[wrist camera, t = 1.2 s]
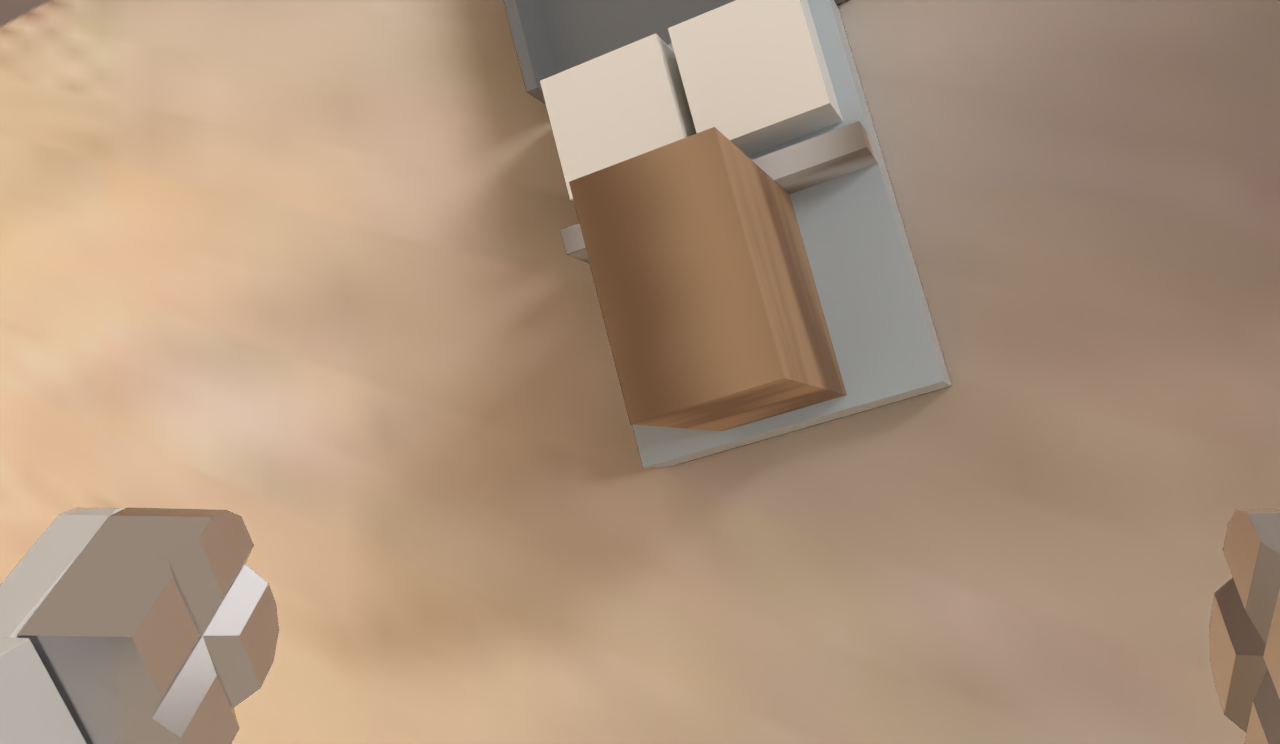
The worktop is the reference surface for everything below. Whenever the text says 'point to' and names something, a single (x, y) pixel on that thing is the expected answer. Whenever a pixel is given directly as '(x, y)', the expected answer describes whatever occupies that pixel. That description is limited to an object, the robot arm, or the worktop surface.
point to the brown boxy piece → (712, 277)
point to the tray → (589, 30)
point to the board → (842, 285)
